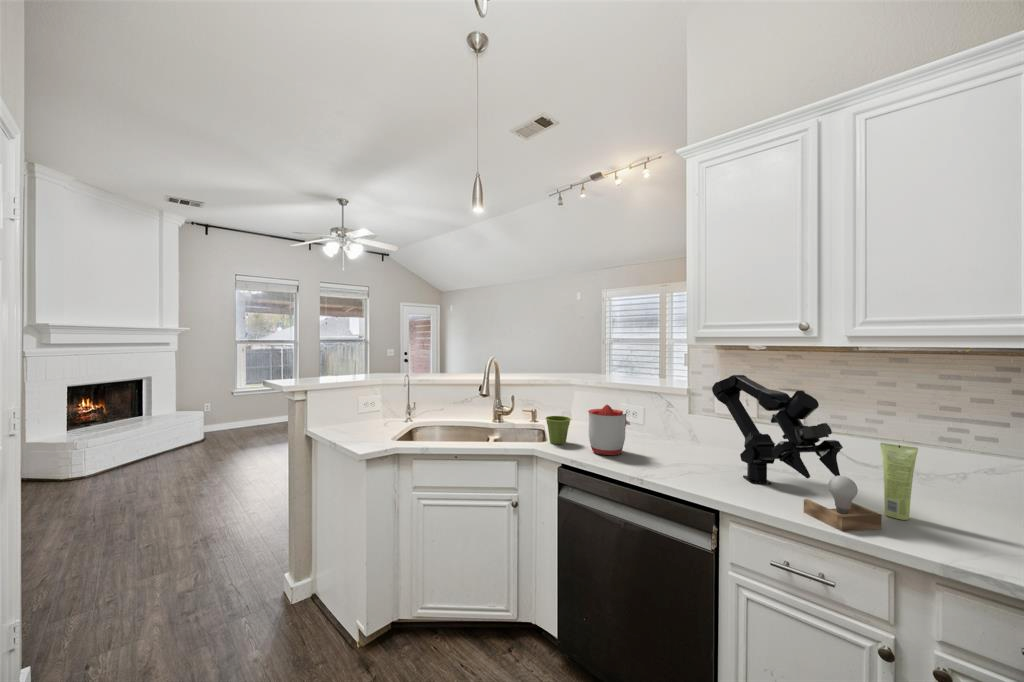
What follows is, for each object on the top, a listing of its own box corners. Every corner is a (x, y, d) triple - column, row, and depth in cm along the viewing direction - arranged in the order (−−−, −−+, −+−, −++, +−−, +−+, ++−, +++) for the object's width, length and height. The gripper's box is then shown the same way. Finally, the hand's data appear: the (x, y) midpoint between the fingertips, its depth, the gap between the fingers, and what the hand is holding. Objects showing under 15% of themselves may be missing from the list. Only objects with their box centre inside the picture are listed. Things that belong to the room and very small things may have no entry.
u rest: (803, 512, 115) (803, 499, 115) (840, 510, 117) (840, 497, 117) (841, 531, 104) (841, 516, 104) (881, 528, 105) (881, 514, 105)
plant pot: (542, 444, 186) (542, 419, 186) (547, 438, 197) (548, 415, 197) (568, 447, 182) (569, 421, 182) (572, 440, 194) (573, 416, 193)
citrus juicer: (634, 457, 167) (635, 407, 167) (590, 457, 167) (591, 407, 167) (624, 447, 182) (625, 401, 182) (584, 447, 183) (585, 401, 183)
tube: (898, 512, 116) (899, 442, 115) (917, 520, 110) (918, 447, 110) (879, 512, 115) (880, 442, 115) (897, 521, 110) (898, 447, 110)
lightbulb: (836, 522, 108) (837, 479, 108) (822, 512, 114) (823, 471, 114) (863, 523, 107) (863, 480, 107) (847, 513, 113) (848, 472, 113)
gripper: (780, 413, 119) (811, 464, 108) (838, 412, 122) (874, 462, 111) (759, 434, 127) (787, 483, 116) (814, 432, 130) (845, 480, 119)
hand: (823, 477), depth 115 cm, fingers open, 9 cm apart
